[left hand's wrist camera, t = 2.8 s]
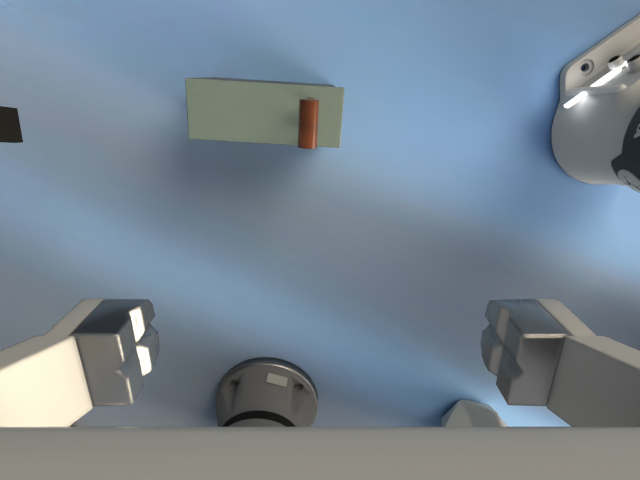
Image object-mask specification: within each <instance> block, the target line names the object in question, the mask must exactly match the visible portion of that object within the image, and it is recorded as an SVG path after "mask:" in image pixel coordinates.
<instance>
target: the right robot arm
mask: <svg viewBox="0 0 640 480" xmlns="http://www.w3.org/2000/svg"><path fill="white" fill-rule="evenodd" d="M0 142H11V143H18V142H23V140H22V134H21V128H20V123H19V117H18V111H17V108H9V107H1V106H0ZM216 410H217V419H218V427H311V426H312V424H313V422H314V420H315V416H316V413H317V391H316V388H315V385H314V383H313V381H312V380H311V378H310V377H309V376H308V375H307V374H306V373H305V372H304V371H303V370H302V369H300V368H299V367H297V366H296V365H294V364H292V363H290V362H287V361H284V360H280V359H275V358H256V359H251V360H247V361H244V362H242V363H240V364H238V365H236V366H235V367H233V368H232V369H231V370H230V371H229V372H228V373H227V374H226V375H225V376H224V378H223V380H222V382H221V384H220V387H219V390H218V393H217V398H216Z"/></svg>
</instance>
